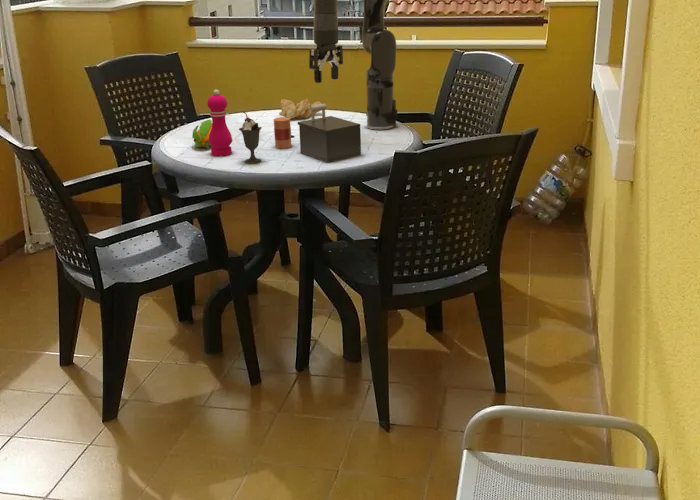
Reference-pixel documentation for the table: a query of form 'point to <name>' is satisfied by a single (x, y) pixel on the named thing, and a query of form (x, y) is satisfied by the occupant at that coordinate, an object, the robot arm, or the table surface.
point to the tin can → (282, 132)
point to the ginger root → (296, 109)
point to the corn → (202, 134)
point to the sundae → (251, 137)
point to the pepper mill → (219, 126)
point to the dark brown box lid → (326, 121)
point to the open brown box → (330, 143)
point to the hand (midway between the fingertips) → (326, 80)
